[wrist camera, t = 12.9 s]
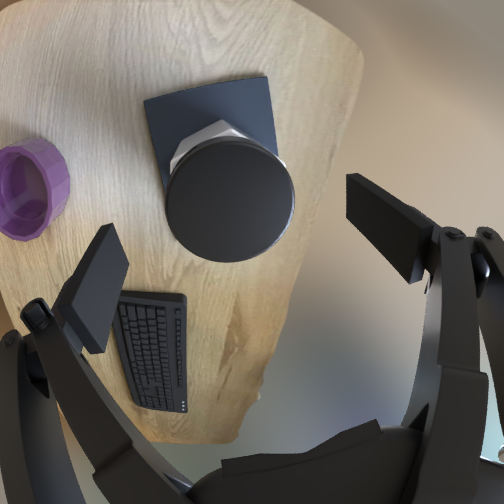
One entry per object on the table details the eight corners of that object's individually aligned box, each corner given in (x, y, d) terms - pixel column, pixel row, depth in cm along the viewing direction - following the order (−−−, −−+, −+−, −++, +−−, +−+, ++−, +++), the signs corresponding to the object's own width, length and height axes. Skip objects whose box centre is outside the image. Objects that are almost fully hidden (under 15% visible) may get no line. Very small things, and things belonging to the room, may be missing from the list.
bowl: (-3, 156, 21) (-27, 168, 17) (57, 122, 22) (34, 129, 18) (23, 230, 27) (4, 250, 22) (83, 208, 27) (66, 227, 23)
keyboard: (105, 289, 33) (102, 298, 31) (187, 294, 35) (186, 304, 34) (134, 402, 47) (134, 411, 46) (187, 405, 50) (187, 414, 48)
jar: (179, 118, 24) (161, 133, 14) (263, 121, 26) (305, 139, 15) (178, 204, 29) (167, 270, 18) (255, 205, 30) (285, 268, 20)
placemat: (144, 100, 23) (143, 100, 22) (266, 76, 24) (267, 76, 23) (180, 241, 31) (180, 244, 31) (284, 219, 32) (285, 221, 32)
